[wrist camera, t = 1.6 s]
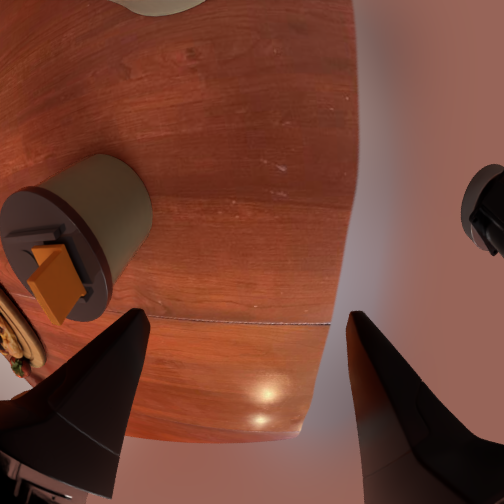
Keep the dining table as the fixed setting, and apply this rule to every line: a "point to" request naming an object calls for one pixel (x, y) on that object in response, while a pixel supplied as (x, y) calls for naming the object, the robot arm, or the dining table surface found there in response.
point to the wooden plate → (18, 339)
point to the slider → (55, 282)
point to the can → (158, 6)
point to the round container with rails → (80, 225)
